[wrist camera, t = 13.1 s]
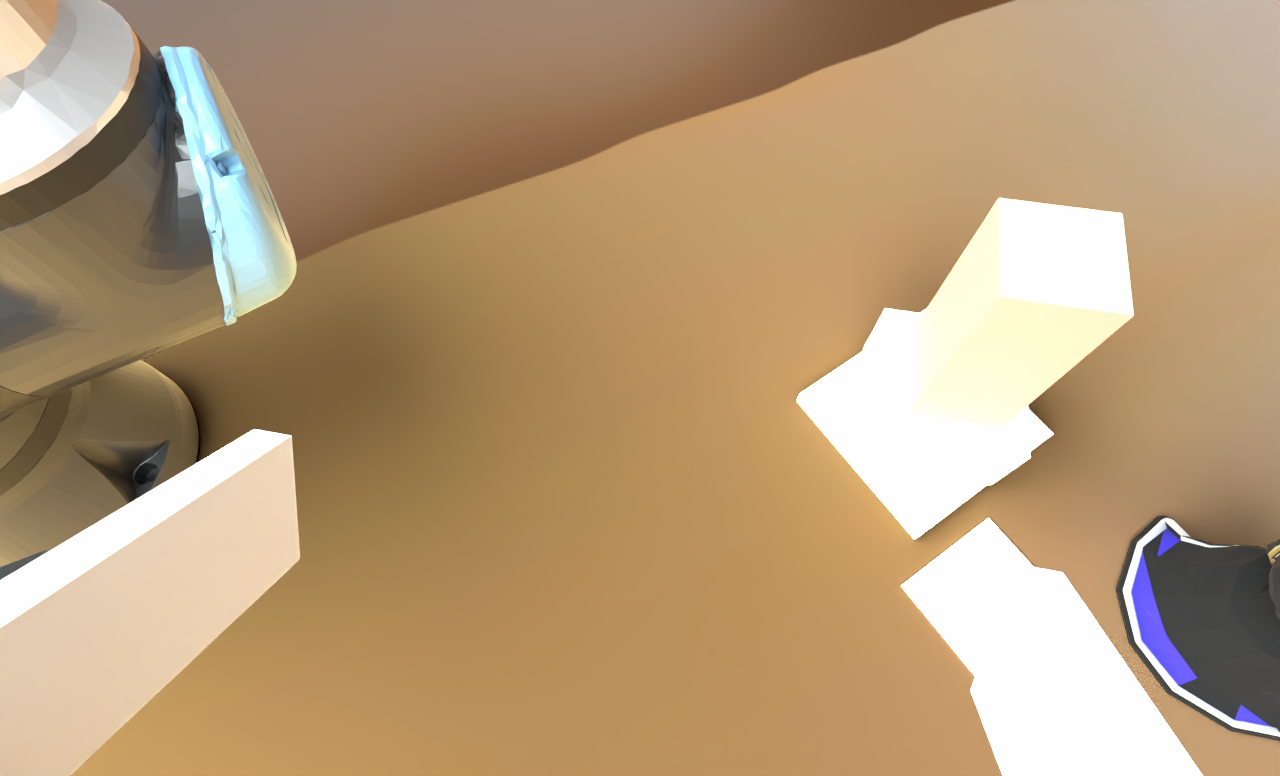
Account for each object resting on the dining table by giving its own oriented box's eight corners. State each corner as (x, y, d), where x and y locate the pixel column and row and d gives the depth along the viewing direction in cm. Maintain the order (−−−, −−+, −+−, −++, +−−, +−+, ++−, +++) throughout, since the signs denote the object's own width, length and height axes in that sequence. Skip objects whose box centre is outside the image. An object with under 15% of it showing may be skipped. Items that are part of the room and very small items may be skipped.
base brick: (855, 462, 43) (877, 433, 39) (863, 347, 46) (884, 308, 42) (991, 485, 42) (1030, 457, 38) (989, 366, 46) (1026, 328, 41)
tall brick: (906, 413, 39) (1000, 297, 28) (909, 334, 41) (998, 197, 30) (1000, 428, 39) (1134, 315, 28) (999, 347, 41) (1122, 213, 30)
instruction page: (900, 585, 41) (901, 585, 41) (987, 518, 43) (988, 517, 43) (1017, 727, 38) (1018, 727, 38) (1107, 649, 40) (1109, 649, 39)
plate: (795, 401, 46) (799, 393, 45) (921, 316, 49) (927, 307, 48) (914, 540, 42) (920, 535, 41) (1044, 440, 45) (1054, 434, 44)
